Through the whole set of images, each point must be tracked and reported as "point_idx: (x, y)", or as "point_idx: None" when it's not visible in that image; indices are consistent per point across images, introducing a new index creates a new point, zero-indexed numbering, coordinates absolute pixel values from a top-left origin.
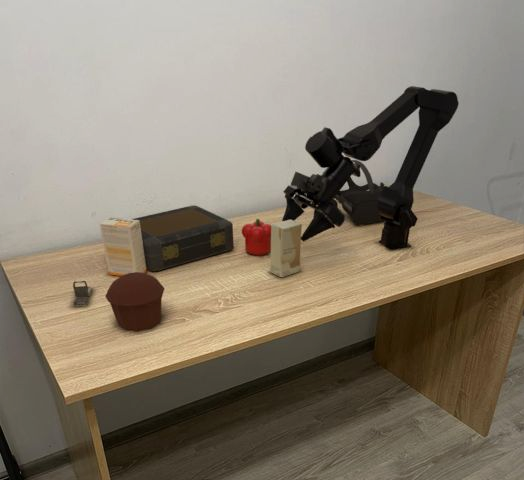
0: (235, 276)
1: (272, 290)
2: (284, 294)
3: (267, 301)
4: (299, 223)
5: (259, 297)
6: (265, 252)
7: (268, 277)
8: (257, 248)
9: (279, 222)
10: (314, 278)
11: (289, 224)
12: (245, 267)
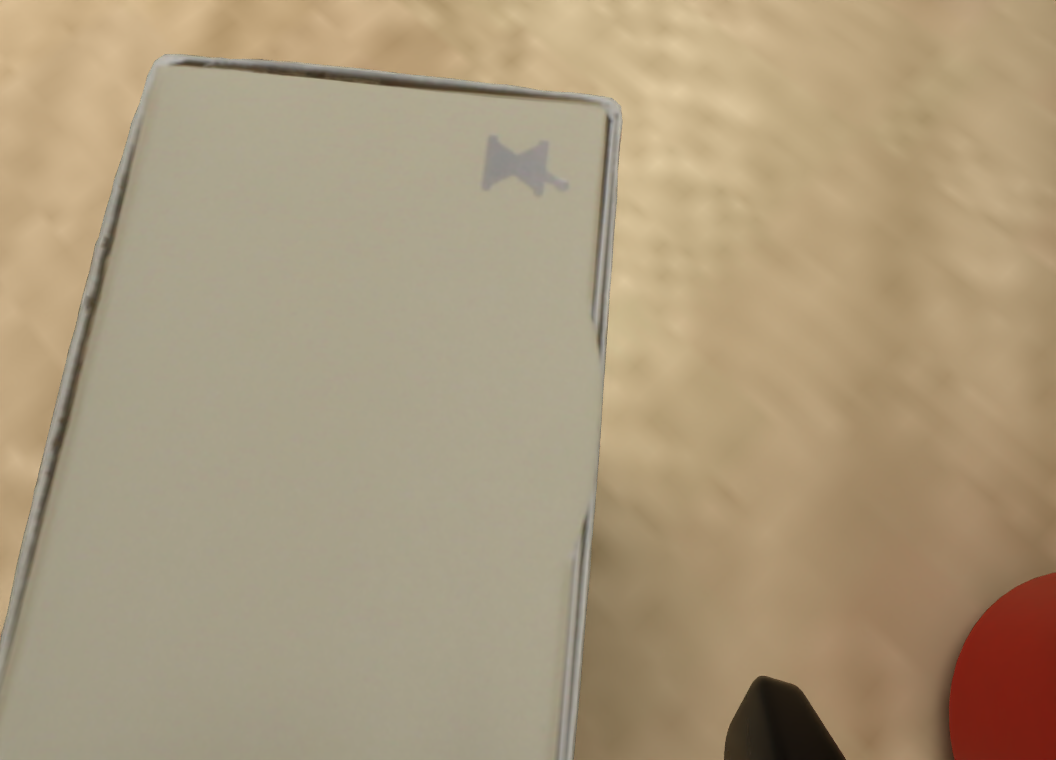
0: (720, 137)
1: None
2: None
3: (181, 6)
4: (44, 743)
5: (277, 11)
6: (951, 707)
7: None
8: (1028, 614)
9: (565, 344)
10: None
11: (226, 416)
12: (818, 327)
